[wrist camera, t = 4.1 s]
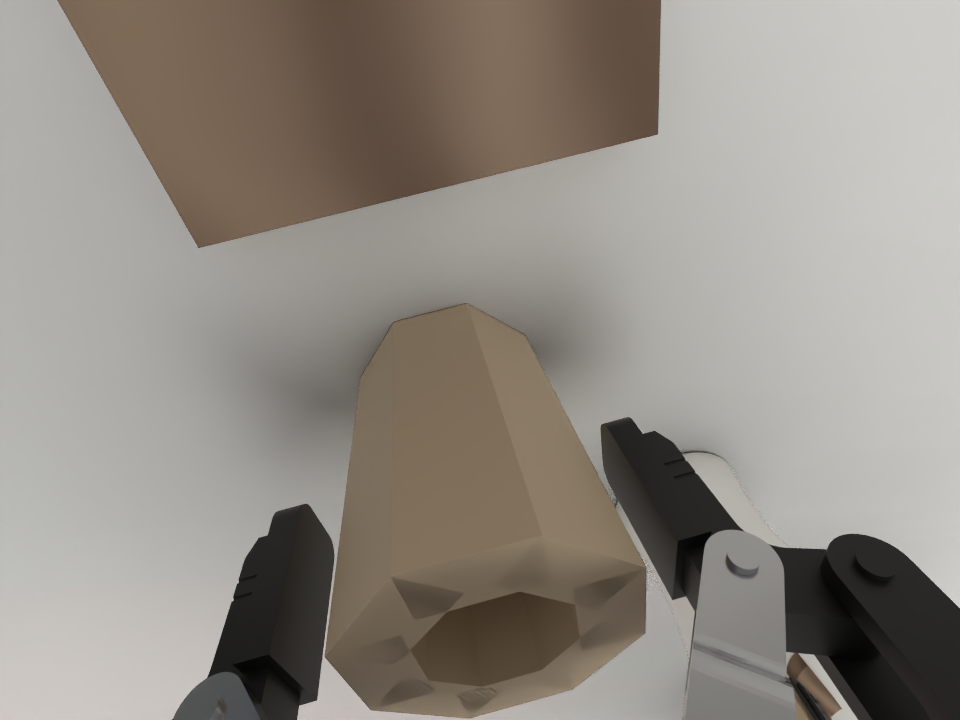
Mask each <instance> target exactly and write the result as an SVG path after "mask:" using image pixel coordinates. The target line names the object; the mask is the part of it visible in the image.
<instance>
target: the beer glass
mask: <svg viewBox="0 0 960 720" xmlns="http://www.w3.org/2000/svg"><path fill="white" fill-rule="evenodd" d="M682 455H683V456H684V457H685V460H686V461H688V462H689V464H690V465H691V466H692V468H693V469H694V470H695V473H696V474H698V475H699V476H700V478H701V479H702V480H703V482H704V483H705V484H706V485H707V487H708V488H709V489H710V490H711V492H712V493H713V494H714V496H715V497H716V498H717V499H718V501H719V502H720V503H721V505H722V506H723V507H724V508H725V510H726V511H727V512H728V513H729V515H730V516H731V517H732V519H733V520H734V521H735V522H736V523H737V525H738V526H739V527H740V528H741V529H743V530H744V531H745V532H747V533H750V534H753V535H755V536H757V537H759V538H760V539H762V540H764V541H765V542H766V543H767V544H770V545H773V546H778V547H784V548H790V547H789V546H788V545H787V544H786V543H785V542H784V541H783V540H782V539H781V538H780V537H779V536H778V535H777V534H776V533H775V532H774V531H773V530H772V529H771V527H770V526H769V525H768V524H767V523H766V521H765V520H764V519H763V518H762V516H761V515H760V514H759V513H758V511H757V510H756V508H755V507H754V505H753V504H752V502H751V501H750V499H749V497H748V496H747V494H746V492H745V491H744V489H743V487H742V485H741V483H740V482H739V480H738V478H737V476H736V475H735V473H734V471H733V470H732V468H731V467H730V466H729V464H728V463H727V462H726V461H724V460H723V459H722V458H720V457H718V456H716V455H713V454H709V453H702V452H691V453H684V454H682ZM616 510H617V512H618V514H619V516H620V518H621V520H622V522H623V524H624V526H625V528H626V530H627V532H628V533H629V535H630V537H631V539H632V541H633V543H634V545H635V547H636V549H637V550H638V552H639V553H640V554H641V556H642V557H643V558H644V560H645V561H646V563H647V564H648V565H649V567H650V568H651V570H652V572H653V573H654V575H655V577H656V579H657V580H658V582H659V584H660V586H661V588H662V590H663V592H664V595H665V597H666V599H667V601H668V603H669V605H670V608H671V611H672V614H673V616H674V619H675V622H676V624H677V627H678V630H679V633H680V635H681V638H682V641H683V644H684V647H685V650H686V653H687V656H688V659H689V655H690V647H691V638H692V630H693V622H694V614H695V611H694V609H693V608H692V606H691V604H690V602H689V601H688V599H687V597H682V598H679V599H675V600H672V599H671V597H670V595H669V593H668V591H667V589H666V588H665V586H664V584H663V582H662V580H661V578H660V577H659V575H658V573H657V571H656V569H655V567H654V565H653V564H652V562H651V560H650V558H649V556H648V554H647V553H646V551H645V549H644V547H643V545H642V543H641V541H640V540H639V538H638V536H637V534H636V532H635V530H634V529H633V527H632V525H631V523H630V521H629V519H628V518H627V516H626V514H625V512H624V510H623V508H622V506H621V505H620V503H619V501H618V502H617V506H616ZM786 666H787V676H788V680H789V682H791V684H792V686H793V690H794V697H795V709H796V720H858V719H857V717H856V716H855V715H854V713H853V712H852V710H851V709H850V707H849V706H848V704H847V703H846V701H845V700H844V698H843V697H842V695H841V694H840V692H839V691H838V689H837V688H836V686H835V685H834V683H833V682H832V680H831V679H830V678H829V676H828V675H827V673H826V672H825V670H824V669H823V667H822V666H821V664H820V663H819V661H818V660H817V658H816V657H815V655H811V654H801V653H791V652H786Z"/></svg>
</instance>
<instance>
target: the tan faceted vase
mask: <svg viewBox="0 0 960 720" xmlns="http://www.w3.org/2000/svg"><path fill="white" fill-rule="evenodd" d="M645 623H646V566H645V564H644V562H643V560H642V558H641V556H640V555H639V553H638V551H637V549H636V547H635V545H634V543H633V541H632V539H631V537H630V535H629V533H628V532H627V530H626V528H625V526H624V524H623V522H622V520H621V518H620V516H619V514H618V512H617V510H616V509H615V507H614V505H613V503H612V501H611V499H610V497H609V495H608V493H607V491H606V489H605V487H604V486H603V484H602V482H601V480H600V478H599V476H598V474H597V472H596V470H595V468H594V466H593V464H592V463H591V461H590V459H589V457H588V455H587V453H586V451H585V449H584V447H583V445H582V443H581V441H580V439H579V438H578V436H577V434H576V432H575V430H574V428H573V426H572V424H571V422H570V420H569V418H568V416H567V415H566V413H565V411H564V409H563V407H562V405H561V403H560V401H559V399H558V397H557V395H556V393H555V392H554V390H553V388H552V386H551V384H550V382H549V380H548V378H547V376H546V374H545V372H544V370H543V369H542V367H541V365H540V363H539V361H538V359H537V357H536V355H535V353H534V351H533V349H532V347H531V346H530V344H529V342H528V340H527V338H526V336H525V335H524V334H522V333H520V332H518V331H516V330H515V329H513V328H511V327H509V326H507V325H505V324H503V323H502V322H500V321H498V320H496V319H494V318H492V317H491V316H489V315H487V314H485V313H483V312H481V311H479V310H478V309H476V308H474V307H472V306H470V305H468V304H463V305H459V306H455V307H451V308H447V309H443V310H439V311H436V312H432V313H428V314H424V315H420V316H416V317H412V318H408V319H404V320H400V321H396V322H394V323H393V324H392V326H391V328H390V329H389V331H388V333H387V334H386V336H385V338H384V339H383V341H382V343H381V344H380V346H379V348H378V349H377V351H376V353H375V354H374V356H373V358H372V359H371V361H370V363H369V364H368V366H367V368H366V369H365V371H364V373H363V374H362V376H361V378H360V385H359V393H358V400H357V408H356V416H355V424H354V432H353V440H352V447H351V455H350V463H349V471H348V479H347V486H346V494H345V502H344V510H343V518H342V525H341V533H340V541H339V549H338V557H337V565H336V572H335V580H334V588H333V596H332V604H331V611H330V619H329V627H328V635H327V643H326V650H325V658H326V659H327V660H328V661H329V662H330V664H331V665H332V666H333V667H334V668H335V669H336V671H337V672H338V673H339V674H340V675H341V676H342V677H343V679H344V680H345V681H346V682H347V683H348V684H349V686H350V687H351V688H352V689H353V690H354V691H355V692H356V694H357V695H358V696H359V697H360V698H361V699H362V701H363V702H364V703H365V704H366V705H367V706H368V708H369V709H370V710H375V711H386V712H398V713H410V714H422V715H434V716H446V717H458V718H473V717H477V716H480V715H484V714H487V713H491V712H494V711H498V710H502V709H505V708H509V707H512V706H516V705H519V704H523V703H526V702H530V701H533V700H537V699H540V698H544V697H547V696H551V695H555V694H558V693H562V692H565V691H569V690H572V689H574V688H575V687H576V686H578V685H579V684H580V683H582V682H583V681H584V680H585V679H587V678H588V677H589V676H591V675H592V674H593V673H594V672H596V671H597V670H598V669H600V668H601V667H602V666H603V665H605V664H606V663H607V662H609V661H610V660H611V659H613V658H614V657H615V656H616V655H618V654H619V653H620V652H622V651H623V650H624V649H625V648H627V647H628V646H629V645H631V644H632V643H633V642H634V641H636V640H637V639H638V638H640V637H641V636H642V635H644V634H645Z"/></svg>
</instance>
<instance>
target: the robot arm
mask: <svg viewBox="0 0 960 720" xmlns="http://www.w3.org/2000/svg"><path fill="white" fill-rule="evenodd" d="M601 442H602V458H603V467H604V471H605V474H606V477H607V480H608V482H609V484H610V486H611V488H612V490H613V492H614V494H615V495H616V497H617V499H618V501H619V503H620V505H621V506H622V508H623V510H624V512H625V514H626V516H627V518H628V519H629V521H630V523H631V525H632V527H633V529H634V530H635V532H636V534H637V536H638V538H639V540H640V541H641V543H642V545H643V547H644V549H645V551H646V553H647V554H648V556H649V558H650V560H651V562H652V564H653V565H654V567H655V569H656V571H657V573H658V575H659V577H660V578H661V580H662V582H663V584H664V586H665V588H666V589H667V591H668V593H669V595H670V597H671V599H672V600H675V599H679V598H682V597H687V599H688V601H689V602H690V604H691V606H692V608H693V609H694V611H695V614H694V622H693V630H692V638H691V647H690V655H689V663H688V671H687V680H686V688H685V696H684V704H683V712H682V719H681V720H796V709H795V697H794V690H793V686H792V684H791V682H789V680H788V676H787V666H786V652H791V653H801V654H811V655H815V657H816V658H817V660H818V661H819V663H820V664H821V666H822V667H823V669H824V670H825V672H826V673H827V675H828V676H829V678H830V679H831V680H832V682H833V683H834V685H835V686H836V688H837V689H838V691H839V692H840V694H841V695H842V697H843V698H844V700H845V701H846V703H847V704H848V706H849V707H850V709H851V710H852V712H853V713H854V715H855V716H856V717H857V719H858V720H960V608H959V607H958V606H957V605H956V604H955V603H954V602H953V601H952V600H951V599H950V598H949V597H948V596H947V595H946V594H945V593H944V592H943V591H942V590H941V589H939V588H938V587H937V586H936V585H935V584H934V583H933V582H932V581H931V580H930V579H929V578H928V577H927V576H926V575H925V574H924V573H923V572H922V571H921V570H920V569H919V568H918V567H917V566H916V565H915V564H914V563H913V562H912V561H911V560H910V559H909V558H908V557H907V556H906V555H905V554H904V553H902V552H901V551H899V550H898V549H897V548H895V547H893V546H892V545H890V544H888V543H886V542H884V541H882V540H879V539H876V538H874V537H870V536H866V535H860V534H846V535H842V536H839V537H837V538H835V539H834V540H833V541H832V542H831V543H830V544H829V546H828V548H827V550H826V549H803V548H784V547H778V546H773V545H770V544H767V543H766V542H765V541H764V540H762V539H760V538H759V537H757V536H755V535H753V534H750V533H747V532H745V531H744V530H743V529H741V528H740V527H739V526H738V525H737V523H736V522H735V521H734V520H733V519H732V517H731V516H730V515H729V513H728V512H727V511H726V510H725V508H724V507H723V506H722V505H721V503H720V502H719V501H718V499H717V498H716V497H715V496H714V494H713V493H712V492H711V490H710V489H709V488H708V487H707V485H706V484H705V483H704V482H703V480H702V479H701V478H700V476H699V475H698V474H696V473H695V470H694V469H693V468H692V466H691V465H690V464H689V462H688V461H686V460H685V457H684V456H683V455H682V453H681V452H680V451H679V450H678V448H677V447H676V446H675V445H674V443H673V442H672V441H670V440H668V439H667V438H665V437H664V436H662V435H660V434H659V433H657V432H656V431H652V432H649V433H645V434H642V432H641V431H640V430H639V428H638V427H637V425H636V424H635V423H634V421H633V420H632V419H631V418H629V417H627V418H623V419H619V420H616V421H612V422H608V423H605V424H602V425H601ZM333 565H334V549H333V544H332V541H331V538H330V536H329V535H328V533H327V531H326V530H325V528H324V527H323V525H322V524H321V522H320V521H319V519H318V518H317V516H316V515H315V513H314V512H313V510H312V509H311V507H310V506H309V505H308V504H303V505H299V506H296V507H292V508H288V509H285V510H281V511H277V512H276V513H275V514H274V516H273V519H272V522H271V526H270V529H269V533H268V536H264V537H261V538H259V539H258V540H257V542H256V543H255V545H254V546H253V548H252V549H251V551H250V552H249V554H248V555H247V557H246V558H245V561H244V564H243V567H242V570H241V574H240V577H239V584H237V586H236V590H235V593H234V596H233V598H234V601H233V602H232V603H231V606H230V609H229V612H228V615H227V619H226V622H225V625H224V628H223V631H222V635H221V638H220V641H219V644H218V648H217V651H216V654H215V657H214V660H213V664H212V667H211V670H210V672H209V675H208V677H207V679H205V680H204V681H202V682H201V683H200V684H199V685H197V686H196V687H195V688H194V689H193V690H192V691H191V692H190V693H189V695H188V696H187V697H186V698H185V699H184V701H183V702H182V704H181V705H180V707H179V708H178V710H177V712H176V714H175V716H174V718H173V719H172V720H297V715H298V709H299V705H302V704H306V703H309V702H313V701H316V700H317V696H318V687H319V679H320V671H321V663H322V655H323V647H324V639H325V630H326V622H327V614H328V606H329V598H330V590H331V582H332V573H333Z"/></svg>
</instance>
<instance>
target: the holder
mask: <svg viewBox="0 0 960 720" xmlns="http://www.w3.org/2000/svg"><path fill="white" fill-rule="evenodd" d="M58 2H59V4H60V6H61V7H62V9H63V11H64V13H65V14H66V16H67V18H68V20H69V21H70V23H71V25H72V27H73V28H74V30H75V32H76V34H77V35H78V37H79V39H80V41H81V43H82V44H83V46H84V48H85V50H86V51H87V53H88V55H89V57H90V58H91V60H92V62H93V64H94V65H95V67H96V69H97V71H98V72H99V74H100V76H101V78H102V79H103V81H104V83H105V85H106V86H107V88H108V90H109V92H110V93H111V95H112V97H113V99H114V100H115V102H116V104H117V106H118V107H119V109H120V111H121V113H122V114H123V116H124V118H125V120H126V121H127V123H128V125H129V127H130V128H131V130H132V132H133V134H134V135H135V137H136V139H137V141H138V143H139V144H140V146H141V148H142V150H143V151H144V153H145V155H146V157H147V158H148V160H149V162H150V164H151V165H152V167H153V169H154V171H155V172H156V174H157V176H158V178H159V179H160V181H161V183H162V185H163V186H164V188H165V190H166V192H167V193H168V195H169V197H170V199H171V200H172V202H173V204H174V206H175V207H176V209H177V211H178V213H179V214H180V216H181V218H182V220H183V221H184V223H185V225H186V227H187V228H188V230H189V232H190V234H191V235H192V237H193V239H194V241H195V243H196V244H197V246H198V248H201V247H205V246H209V245H213V244H217V243H221V242H225V241H229V240H233V239H237V238H241V237H245V236H249V235H253V234H257V233H261V232H265V231H269V230H273V229H277V228H281V227H285V226H289V225H294V224H298V223H302V222H306V221H310V220H314V219H318V218H322V217H326V216H330V215H334V214H338V213H342V212H346V211H350V210H354V209H358V208H362V207H366V206H370V205H374V204H378V203H382V202H386V201H391V200H395V199H399V198H403V197H407V196H411V195H415V194H419V193H423V192H427V191H431V190H435V189H439V188H443V187H447V186H451V185H455V184H459V183H463V182H467V181H471V180H475V179H479V178H483V177H488V176H492V175H496V174H500V173H504V172H508V171H512V170H516V169H520V168H524V167H528V166H532V165H536V164H540V163H544V162H548V161H552V160H556V159H560V158H564V157H568V156H572V155H576V154H580V153H585V152H589V151H593V150H597V149H601V148H605V147H609V146H613V145H617V144H621V143H625V142H629V141H633V140H637V139H641V138H645V137H649V136H653V135H657V134H658V108H659V62H660V17H661V0H58Z"/></svg>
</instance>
